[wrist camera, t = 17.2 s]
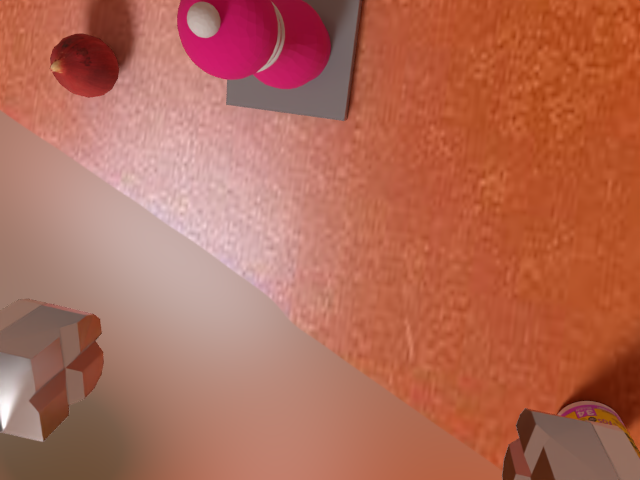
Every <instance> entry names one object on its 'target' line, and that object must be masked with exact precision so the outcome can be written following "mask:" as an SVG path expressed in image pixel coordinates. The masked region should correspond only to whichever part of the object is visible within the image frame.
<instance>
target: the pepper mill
mask: <svg viewBox="0 0 640 480" xmlns="http://www.w3.org/2000/svg"><path fill="white" fill-rule="evenodd" d="M177 26H178V31H179V36H180V39H181V42H182V45H183V47H184V49H185V51H186V53H187V54H188V56H189V57H190V58H191V60H192V61H193V62H194V63H195V64H196V65H197V66H198V67H199V68H201V69H202V70H203V71H205V72H206V73H208V74H210V75H213V76H215V77H219V78H222V79H228V80H237V79H243V78H245V77H248V76H250V75H254V76H255V77H256V78H257V79H258V80H259V81H261V82H263V83H264V84H266V85H268V86H271V87H274V88H279V89H293V88H297V87H300V86H302V85H304V84H306V83H307V82H309V81H311V80H313V79H315V78H316V77H317V76H319V75H320V74H321V72H322V71H323V70H324V68H325V67H326V65H327V63H328V60H329V56H330V52H331V42H330V37H329V34H328V31H327V29H326V27H325V25H324V24H323V22H322V20H321V18H320V16H319V15H318V13H317V12H316V11H315V10H314V8H312V7H311V6H310V5H309V4H308V3H306V2H304V1H302V0H181V2H180V5H179V8H178V15H177Z"/></svg>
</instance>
